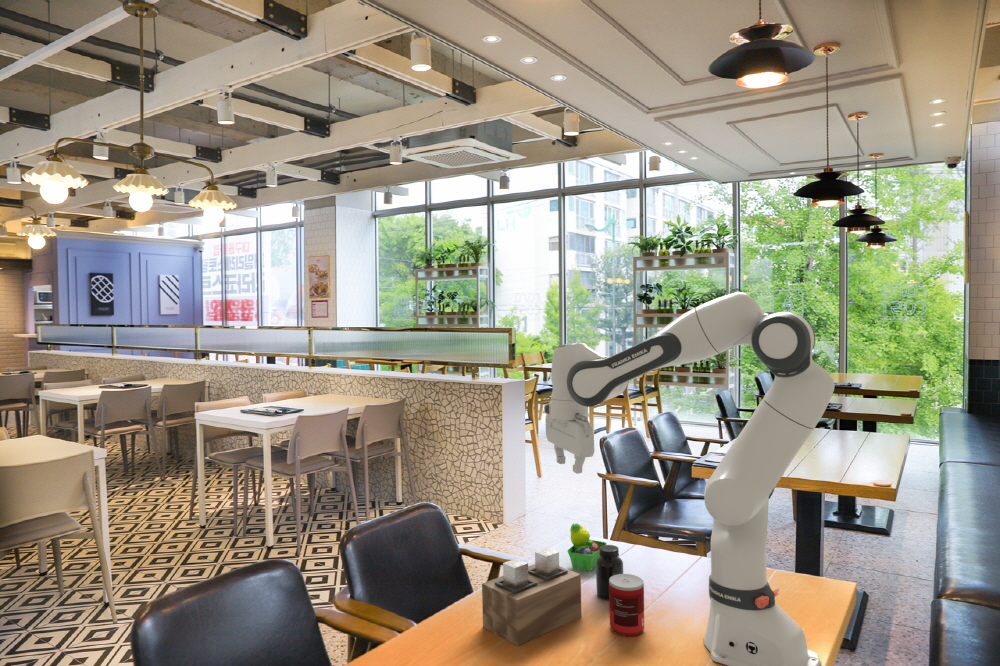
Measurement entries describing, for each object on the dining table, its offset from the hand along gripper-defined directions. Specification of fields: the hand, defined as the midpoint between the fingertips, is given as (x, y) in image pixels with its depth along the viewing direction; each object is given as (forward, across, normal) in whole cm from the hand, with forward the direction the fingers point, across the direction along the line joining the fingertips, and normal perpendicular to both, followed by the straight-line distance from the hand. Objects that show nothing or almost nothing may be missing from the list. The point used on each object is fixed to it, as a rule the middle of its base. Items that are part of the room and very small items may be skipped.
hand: (569, 468), depth 158 cm
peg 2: (+28, -1, +6) cm, 29 cm away
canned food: (+34, -14, -8) cm, 38 cm away
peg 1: (+28, -5, +15) cm, 32 cm away
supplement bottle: (+34, +3, -13) cm, 37 cm away
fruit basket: (+35, +24, -16) cm, 45 cm away
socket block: (+34, -3, +10) cm, 36 cm away
